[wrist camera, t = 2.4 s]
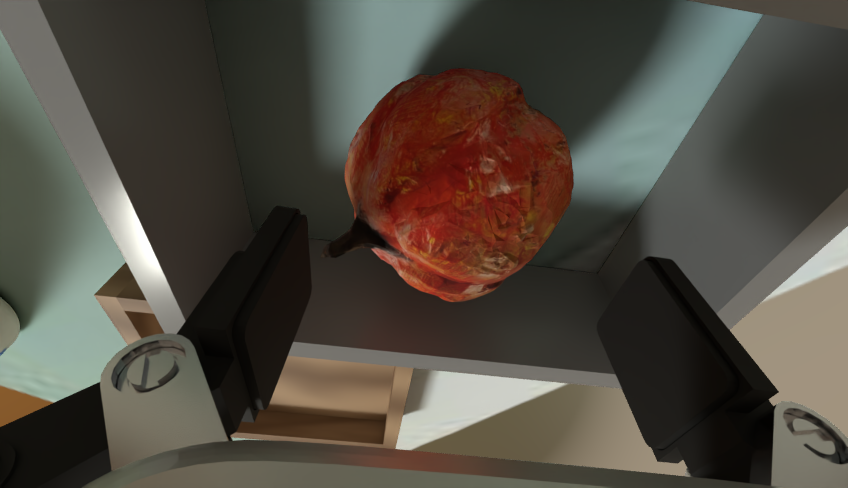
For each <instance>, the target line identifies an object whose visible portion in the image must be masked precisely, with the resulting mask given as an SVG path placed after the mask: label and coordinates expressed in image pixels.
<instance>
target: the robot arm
mask: <svg viewBox="0 0 848 488" xmlns="http://www.w3.org/2000/svg"><path fill="white" fill-rule="evenodd" d="M311 291H312V281H311V267H310V253H309V239H308V225H307V217H306V215H301V214H300V211H299V209H296V208H289V207H281V206H276V207H275V208H274V209H273V210H272V212H271V213H270V215H269V216H268V218H267V219H266V221H265V222H264V224H263V225H262V227H261V228H260V230H259V231H258V233H257V234H256V235H255V237H254V238H253V240H252V241H251V243H250V244H249V246H248V247H247V249H246V250H245V251H237V252H235V253H234V254H233V255H232V256H231V258H230V259H229V261H228V262H227V263H226V265H225V266H224V268H223V269H222V271H221V272H220V273H219V275H218V276H217V278H216V279H215V280H214V282H213V283H212V285H211V286H210V287H209V289H208V290H207V292H206V293H205V294H204V296H203V297H202V299H201V300H200V302H199V303H198V304H197V306H196V307H195V309H194V310H193V311H192V313H191V314H190V316H189V317H188V318H187V320H186V321H185V323H184V324H183V325H182V327H181V328H180V330H179V331H178V333H177V334H172V333H166V334H156V335H152V336H148V337H144V338H142V339H140V340H137V341H135V342H133V343H131V344H129V345H128V346H126V347H125V348H123V349H122V350H121V351H119V352H118V353H117V354H116V355H115V356H114V357H113V358H112V359H111V360H110V361H109V362H108V363H107V365H106V367H105V368H104V370H103V372H102V374H101V381H100V382H99V383H97V384H94V385H92V386H90V387H88V388H86V389H83V390H81V391H79V392H77V393H75V394H72V395H70V396H68V397H66V398H64V399H61V400H59V401H57V402H55V403H53V404H50V405H48V406H46V407H44V408H42V409H39V410H37V411H35V412H33V413H30V414H28V415H26V416H24V417H22V418H19V419H17V420H15V421H13V422H11V423H9V424H6V425H4V426H2V427H0V488H848V438H847V437H846V436H845V435H844V434H843V433H842V432H841V431H840V430H839V429H838V428H837V427H836V426H835V425H833V424H832V423H831V422H830V421H828V420H827V419H826V418H824V417H823V416H821V415H820V414H818V413H817V412H815V411H814V410H812V409H810V408H807V407H805V406H803V405H801V404H798V403H794V402H785V401H783V402H780V403H778V404H776V405H775V406H773V405H772V404H771V403H770V402H769V400H768V399H770V398H771V397H772V396H774V395H775V394H777V393H778V392H779V391H778V390H777V389H776V388H775V386H774V385H773V384H772V383H771V381H770V380H769V379H768V378H767V376H766V375H765V374H764V373H763V372H762V370H761V369H760V368H759V366H758V365H757V364H756V363H755V361H754V360H753V359H752V358H751V356H750V355H749V354H748V353H747V351H746V350H745V349H744V348H743V346H742V345H741V344H740V343H739V341H738V340H737V339H736V338H735V336H734V335H733V334H732V333H731V332H730V330H729V329H728V328H727V327H726V325H725V324H724V323H723V322H722V320H721V319H720V318H719V317H718V315H717V314H716V313H715V312H714V310H713V309H712V308H711V307H710V305H709V304H708V303H707V302H706V300H705V299H704V298H703V297H702V295H701V294H700V293H699V292H698V290H697V289H696V288H695V287H694V285H693V284H692V283H691V282H690V280H689V279H688V278H687V277H686V275H685V274H684V273H683V272H682V270H681V269H680V268H679V267H678V265H677V264H676V263H675V262H674V261H673V260H672V259H668V258H661V257H653V256H648V257H646V258H644V259H643V260H641V261H639V262H638V263H637V264H636V266H635V267H634V268H633V270H632V271H631V273H630V274H629V276H628V277H627V279H626V280H625V282H624V283H623V285H622V286H621V288H620V289H619V291H618V292H617V294H616V295H615V297H614V298H613V299H612V301H611V302H610V304H609V305H608V307H607V308H606V310H605V311H604V313H603V314H602V316H601V317H600V319H599V320H598V322H597V333H598V335H599V338H600V340H601V342H602V344H603V347H604V349H605V351H606V354H607V356H608V358H609V360H610V363H611V365H612V367H613V370H614V372H615V374H616V377H617V379H618V381H619V383H620V386H621V388H622V390H623V393H624V395H625V397H626V399H627V402H628V404H629V406H630V408H631V411H632V413H633V415H634V418H635V420H636V422H637V425H638V427H639V429H640V432H641V434H642V436H643V438H644V440H645V442H646V444H647V445H648V446H649V447H651V448H652V450H653V452H654V455H655V457H656V459H657V461H658V462H669V463H679V462H680V461H682V460H684V462H685V464H686V466H687V469H686V473H685V476H676V475H665V474H655V473H646V472H636V471H625V470H616V469H605V468H595V467H584V466H574V465H563V464H552V463H542V462H531V461H520V460H509V459H498V458H488V457H478V456H466V455H455V454H444V453H443V454H442V453H431V452H421V451H410V450H399V449H388V448H376V447H365V446H352V445H338V444H323V443H309V442H295V441H269V440H238V441H232V438H231V435H232V434H234V433H235V432H237V430H238V427H239V425H240V423H241V421H242V422H253V423H254V422H255V420H256V417H257V415H258V412H259V410H260V409H261V410H266V409H267V407H268V406H269V403H270V401H271V398H272V396H273V393H274V391H275V388H276V385H277V383H278V380H279V378H280V375H281V372H282V370H283V367H284V365H285V362H286V359H287V357H288V354H289V352H290V349H291V346H292V344H293V341H294V339H295V336H296V333H297V331H298V328H299V326H300V323H301V320H302V318H303V315H304V313H305V310H306V307H307V305H308V302H309V299H310V296H311Z"/></svg>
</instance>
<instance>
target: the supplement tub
mask: <svg viewBox="0 0 848 488" xmlns="http://www.w3.org/2000/svg"><path fill="white" fill-rule="evenodd" d="M19 332H20V323H19V319H18V317H17V315H16V313H15V312H14V310H13V309H12V307H11V306H10V305H9V304H8V303H7V302H5V301H4V300H3V299H2V298H1V297H0V356H1V355H2V354H3V353H4V351H5V350H6V349H7V348H8V347H10V346H11V345H12V344H13V343H14V341H15V340H16V339H17V337H18V335H19Z"/></svg>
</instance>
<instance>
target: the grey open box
mask: <svg viewBox="0 0 848 488" xmlns="http://www.w3.org/2000/svg"><path fill="white" fill-rule="evenodd" d="M689 1H694V2H700V3H705V4H710V5H716V6H721V7H727V8H732V9H738V10H743V11H749V12H754V13H760V14H764V15H763V16H762V18H761V20H760V21H759V23H758V24H757V26H756V27H755V29H754V30H753V32H752V34H751V35H750V37H749V38H748V40H747V41H746V43H745V45H744V46H743V48H742V49H741V51H740V52H739V54H738V55H737V57H736V59H735V60H734V62H733V63H732V65H731V66H730V68H729V70H728V71H727V73H726V74H725V76H724V77H723V79H722V80H721V82H720V84H719V85H718V87H717V88H716V90H715V91H714V93H713V95H712V96H711V98H710V99H709V101H708V102H707V104H706V105H705V107H704V109H703V110H702V112H701V113H700V115H699V116H698V118H697V119H696V121H695V123H694V124H693V126H692V127H691V129H690V130H689V132H688V134H687V135H686V137H685V138H684V140H683V141H682V143H681V144H680V146H679V148H678V149H677V151H676V152H675V154H674V155H673V157H672V159H671V160H670V162H669V163H668V165H667V166H666V168H665V169H664V171H663V173H662V174H661V176H660V177H659V179H658V180H657V182H656V184H655V185H654V187H653V188H652V190H651V191H650V193H649V194H648V196H647V198H646V199H645V201H644V202H643V204H642V205H641V207H640V209H639V210H638V212H637V213H636V215H635V216H634V218H633V219H632V221H631V223H630V224H629V226H628V227H627V229H626V230H625V232H624V233H623V235H622V237H621V238H620V240H619V241H618V243H617V244H616V246H615V248H614V249H613V251H612V252H611V254H610V255H609V257H608V258H607V260H606V262H605V263H604V265H603V266H602V268H601V269H600V271H599V273H598V274H596V273H588V272H579V271H571V270H563V269H555V268H547V267H538V266H530V265H524V266H523V267H522V268H521V269H520V270H518V271H517V272H515V273H513V274H512V275H510V276H508V277H507V278H505V280H504V281H503V283H502V284H501V285H500V286H499V287H497V288H496V289H495V290H494V291H492V292H490V293H487V294H485V295H483V296H480V297H477V298H474V299H471V300H466V301H461V302H450V301H446V300H443V299H441V298H440V297H438V296H436V295H432V294H429V293H426V292H422V291H420V290H418V289H416V288H414V287H412V286H410V285H409V284H408V283H407V282H406V281H405V280H404V279H403V278H402V277H401V276H399V274H398V272H397V271H396V270H395V268H394V267H393V266H392V265H391V264H388V263H387V262H385V261H384V260H381V259H380V257H379V256H378V255H377V254H376V253H375V252H374V251H373V250H371V249H357V250H354V251H350V252H347V253H345V254H343V255H341V256H339V257H337V258H330V257H326V258H320V257H321V254H322V250H323V247H324V246H325V245H327V244H329V243H331V242H332V241H326V240H317V239H309V238H308V239H309V253H310V267H311V281H312V291H311V296H310V299H309V302H308V305H307V307H306V310H305V313H304V315H303V318H302V320H301V323H300V326H299V328H298V331H297V333H296V336H295V339H294V341H293V344H292V346H291V349H290V352H289V354H288V356H295V357H305V358H315V359H326V360H336V361H346V362H356V363H366V364H376V365H387V366H397V367H407V368H417V369H427V370H437V371H448V372H458V373H468V374H478V375H488V376H499V377H509V378H519V379H529V380H539V381H549V382H560V383H570V384H580V385H590V386H601V387H610V388H621V386H620V383H619V381H618V379H617V377H616V374H615V372H614V370H613V367H612V365H611V363H610V360H609V358H608V356H607V354H606V351H605V349H604V347H603V344H602V342H601V340H600V338H599V335H598V333H597V322H598V320H599V319H600V317H601V316H602V314H603V313H604V311H605V310H606V308H607V307H608V305H609V304H610V302H611V301H612V299H613V298H614V297H615V295H616V294H617V292H618V291H619V289H620V288H621V286H622V285H623V283H624V282H625V280H626V279H627V277H628V276H629V274H630V273H631V271H632V270H633V268H634V267H635V266H636V264H637V263H638V262H639V261H641V260H643V259H644V258H646V257H648V256H653V257H661V258H668V259H672V260H673V261H674V262H675V263H676V264H677V265H678V267H679V268H680V269H681V270H682V272H683V273H684V274H685V275H686V277H687V278H688V279H689V280H690V282H691V283H692V284H693V285H694V287H695V288H696V289H697V290H698V292H699V293H700V294H701V295H702V297H703V298H704V299H705V300H706V302H707V303H708V304H709V305H710V307H711V308H712V309H713V310H714V312H715V313H716V314H717V315H718V317H719V318H720V319H721V320H722V322H723V323H724V324H725V325H726V327H727V328H728V329H729V330H730V329H731V328H732V327H733V326H734V325H736V324H737V323H738V322H739V321H740V320H741V319H742V318H743V317H745V316H746V315H747V314H748V313H749V312H750V311H751V310H753V309H754V308H755V307H756V306H757V305H758V304H759V303H761V302H762V301H763V300H764V299H765V298H766V297H767V296H768V295H770V294H771V293H772V292H773V291H774V290H775V289H776V288H778V287H779V286H780V285H781V284H782V283H783V282H784V281H786V280H787V279H788V278H789V277H790V276H791V275H792V274H793V273H795V272H796V271H797V270H798V269H799V268H800V267H801V266H803V265H804V264H805V263H806V262H807V261H808V260H809V259H811V258H812V257H813V256H814V255H815V254H816V253H817V252H818V251H820V250H821V249H822V248H823V247H824V246H825V245H826V244H828V243H829V242H830V241H831V240H832V239H833V238H834V237H836V236H837V235H838V234H839V233H840V232H841V231H842V230H843V229H845V228H846V227H847V226H848V0H689ZM0 29H1V31H2V33H3V35H4V37H5V39H6V40H7V42H8V44H9V46H10V48H11V50H12V52H13V53H14V55H15V57H16V59H17V61H18V63H19V65H20V66H21V68H22V70H23V72H24V74H25V76H26V78H27V79H28V81H29V83H30V85H31V87H32V89H33V90H34V92H35V94H36V96H37V98H38V100H39V102H40V103H41V105H42V107H43V109H44V111H45V113H46V115H47V116H48V118H49V120H50V122H51V124H52V126H53V127H54V129H55V131H56V133H57V135H58V137H59V139H60V140H61V142H62V144H63V146H64V148H65V150H66V152H67V153H68V155H69V157H70V159H71V161H72V163H73V165H74V166H75V168H76V170H77V172H78V174H79V176H80V177H81V179H82V181H83V183H84V185H85V187H86V189H87V190H88V192H89V194H90V196H91V198H92V200H93V202H94V203H95V205H96V207H97V209H98V211H99V213H100V215H101V216H102V218H103V220H104V222H105V224H106V226H107V227H108V229H109V231H110V233H111V235H112V237H113V239H114V240H115V242H116V244H117V246H118V248H119V250H120V252H121V253H122V255H123V257H124V259H125V261H126V263H127V264H128V266H129V268H130V270H131V272H132V274H133V276H134V277H135V279H136V281H137V283H138V285H139V287H140V289H141V290H142V292H143V294H144V296H145V298H146V300H147V302H148V303H149V305H150V307H151V309H152V311H153V313H154V314H155V316H156V318H157V320H158V322H159V324H160V326H161V327H162V329H163V331H164V333H165V334H166V333H172V334H177V333H178V331H179V330H180V328H181V327H182V325H183V324H184V323H185V321H186V320H187V318H188V317H189V316H190V314H191V313H192V311H193V310H194V309H195V307H196V306H197V304H198V303H199V302H200V300H201V299H202V297H203V296H204V294H205V293H206V292H207V290H208V289H209V287H210V286H211V285H212V283H213V282H214V280H215V279H216V278H217V276H218V275H219V273H220V272H221V271H222V269H223V268H224V266H225V265H226V263H227V262H228V261H229V259H230V258H231V256H232V255H233V254H234V253H235V252H237V251H245V250H246V249H247V247H248V246H249V244H250V243H251V241H252V240H253V238H254V237H255V235H256V234H257V233H258V232H253V228H252V223H251V218H250V214H249V209H248V204H247V199H246V195H245V190H244V185H243V180H242V176H241V171H240V166H239V162H238V157H237V152H236V147H235V143H234V138H233V133H232V128H231V124H230V119H229V114H228V109H227V105H226V100H225V95H224V90H223V86H222V81H221V76H220V71H219V67H218V62H217V57H216V53H215V48H214V43H213V38H212V34H211V29H210V24H209V19H208V15H207V10H206V5H205V0H0ZM621 389H622V388H621Z"/></svg>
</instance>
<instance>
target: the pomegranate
mask: <svg viewBox="0 0 848 488" xmlns="http://www.w3.org/2000/svg"><path fill="white" fill-rule="evenodd" d="M345 183H346V186H347V190H348V194H349V197H350V199H351V202H352V205H353V208H354V217H355V220H354V222H353V225H352V227H351V228H350V230H348V231H347V232H346V233H345V234H344V235H343V236H341V237H340V238H338V239H336V240H334V241H332V242H331V243H329V244H327V245H325V246H324V247H323V250H322V254H321V257H320V258H326V257H330V258H337V257H339V256H341V255H343V254H345V253H347V252H350V251H354V250H357V249H371V250H373V251H374V252H375V253H376V254H377V255H378V256H379V257H380V259H381V260H384V261H385V262H387V263H388V264H391V265H392V266H393V267H394V268H395V270H396V271H397V272H398V274H399V276H401V277H402V278H403V279H404V280H405V281H406V282H407V283H408V284H409V285H410V286H412V287H414V288H416V289H418V290H420V291H422V292H426V293H429V294H432V295H436V296H438V297H440V298H441V299H443V300H446V301H450V302H461V301H466V300H471V299H474V298H477V297H480V296H483V295H485V294H487V293H490V292H492V291H494V290H495V289H496V288H497V287H499V286H500V285H501V284H502V283H503V281H504V280H505V278H507V277H508V276H510V275H512V274H513V273H515V272H517V271H518V270H520V269H521V268H522V267H523V266H524V265H525V264H526V263H528V262H529V261H530V260H532V258H533V257H534V256H535V255H536V253H537V252H538V250H539V249H540V248H541V247H542V245H543V244H544V243H545V242H546V240H547V239H548V238H549V236H550V235H551V233H552V232H553V230H554V228H555V227H556V225H557V224H558V222H559V221H560V219H561V218H562V216H563V215H564V213H565V211H566V209H567V208H568V206H569V204H570V201H571V194H572V189H573V185H574V182H573V169H572V159H571V156H570V151H569V147H568V143H567V140H566V137H565V135H564V133H563V132H562V130H561V129H560V127H559V126H558V125H556V124H555V123H554V122H553V121H552V120H551V119H550V118H548V117H546V116H545V115H543V114H542V113H541V112H540V111H539V110H536V109H533V108H532V107H531V106H530V105H528V104H527V102H526V101H525V98H524V94H523V91H522V88H521V87H520V85H519V83H517V82H516V81H514V80H513V79H511V78H509V77H506V76H504V75H501V74H498V73H491V72H486V71H483V70H476V69H464V68H458V69H449V70H447V71H444V72H441V73H439V74H438V75H436V76H434V75H432V76H431V75H420V74H419V75H417V76H415V77H413V78H411V79H409V80H407V81H403V82H401V83H400V84H398V85H396V86H395V87H394V88H393V89H392V90H391V91H390V92H389V93H387V94H386V95H385V96H384V97H383V98H382V99H381V100H380V101H379V102H378V104H377V105H376V106H375V108H374V109H373V111H372V112H371V113H370V114H369V115H368V117H367V118H366V120H365V121H364V122H363V123H362V125H361V126H360V127H359V129H358V131H357V133H356V135H355V137H354V138H353V140H352V142H351V144H350V147H349V153H348V159H347V162H346V165H345Z"/></svg>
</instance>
